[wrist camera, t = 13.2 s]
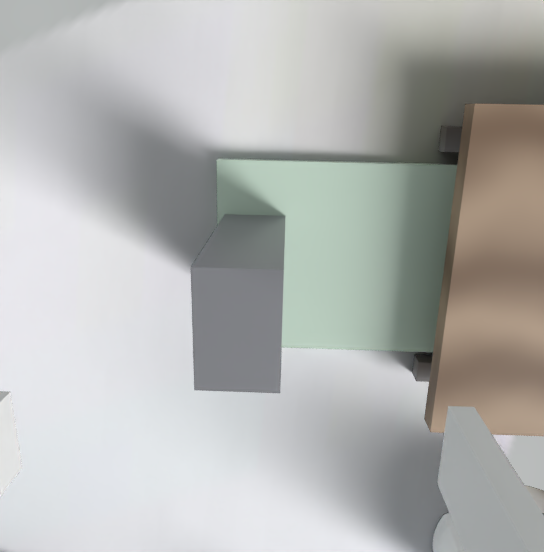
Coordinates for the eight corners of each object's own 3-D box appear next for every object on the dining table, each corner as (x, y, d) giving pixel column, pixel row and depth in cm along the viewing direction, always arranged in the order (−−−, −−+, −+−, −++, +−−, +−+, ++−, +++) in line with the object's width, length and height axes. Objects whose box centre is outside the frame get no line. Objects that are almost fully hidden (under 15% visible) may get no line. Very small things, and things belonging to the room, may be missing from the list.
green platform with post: (521, 348, 37) (644, 470, 24) (220, 338, 37) (186, 452, 24) (556, 166, 33) (725, 199, 20) (218, 158, 33) (176, 184, 20)
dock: (587, 393, 37) (636, 439, 32) (410, 387, 37) (430, 432, 32) (655, 109, 31) (729, 108, 26) (443, 105, 31) (474, 103, 26)
